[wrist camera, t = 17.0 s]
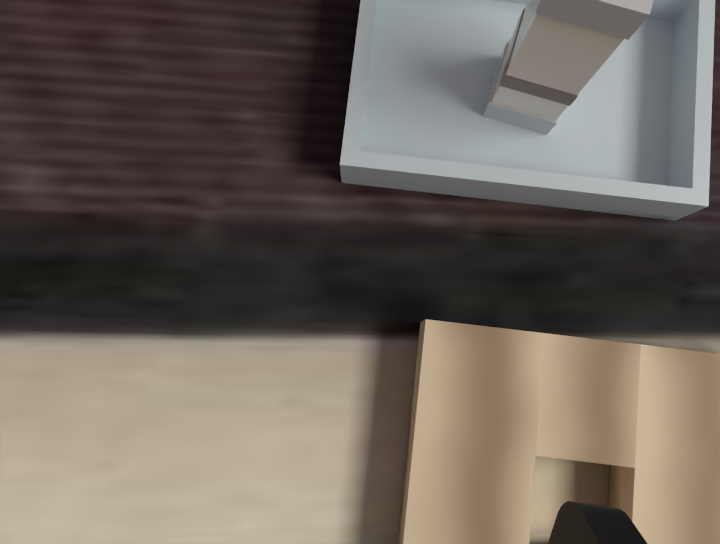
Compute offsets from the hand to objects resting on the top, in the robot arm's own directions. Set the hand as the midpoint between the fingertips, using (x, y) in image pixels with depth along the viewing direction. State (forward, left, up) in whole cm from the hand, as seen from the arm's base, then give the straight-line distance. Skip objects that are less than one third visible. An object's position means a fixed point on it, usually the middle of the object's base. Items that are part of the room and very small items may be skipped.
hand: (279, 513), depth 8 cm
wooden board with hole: (+12, -4, -21) cm, 25 cm away
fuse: (+8, +17, -21) cm, 28 cm away
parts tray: (+8, +17, -21) cm, 29 cm away
